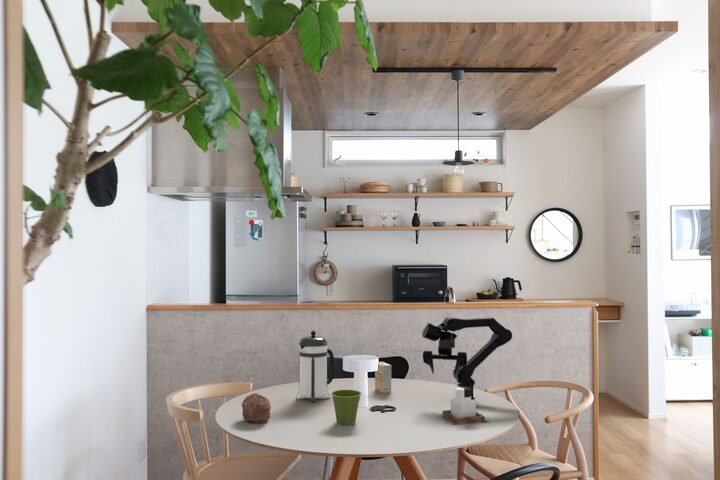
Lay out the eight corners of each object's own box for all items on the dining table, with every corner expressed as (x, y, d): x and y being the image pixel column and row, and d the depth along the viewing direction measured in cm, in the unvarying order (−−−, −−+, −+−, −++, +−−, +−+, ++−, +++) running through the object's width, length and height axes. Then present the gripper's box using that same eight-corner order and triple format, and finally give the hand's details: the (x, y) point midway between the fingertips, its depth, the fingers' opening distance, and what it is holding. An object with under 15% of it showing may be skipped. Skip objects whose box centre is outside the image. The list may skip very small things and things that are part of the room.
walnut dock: (473, 413, 257) (473, 407, 257) (491, 424, 242) (491, 417, 242) (436, 416, 253) (436, 409, 253) (452, 427, 238) (452, 420, 238)
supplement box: (374, 390, 295) (374, 362, 295) (383, 389, 297) (383, 361, 297) (382, 394, 288) (382, 365, 288) (391, 393, 290) (391, 364, 290)
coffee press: (331, 403, 271) (331, 333, 271) (294, 402, 271) (294, 333, 271) (333, 393, 288) (334, 328, 288) (298, 393, 288) (299, 327, 289)
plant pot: (324, 424, 239) (324, 394, 239) (340, 416, 249) (340, 388, 249) (352, 428, 233) (352, 397, 233) (367, 420, 244) (367, 391, 244)
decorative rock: (239, 417, 248) (239, 392, 248) (267, 414, 252) (267, 389, 252) (245, 426, 236) (245, 399, 236) (274, 423, 240) (274, 397, 240)
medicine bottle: (464, 414, 252) (464, 384, 253) (476, 419, 246) (476, 388, 246) (450, 417, 249) (450, 386, 249) (461, 421, 243) (461, 390, 243)
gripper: (423, 332, 273) (420, 362, 262) (466, 333, 269) (466, 363, 258) (424, 347, 280) (422, 377, 269) (467, 348, 277) (466, 379, 266)
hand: (444, 374), depth 266 cm, fingers open, 9 cm apart
